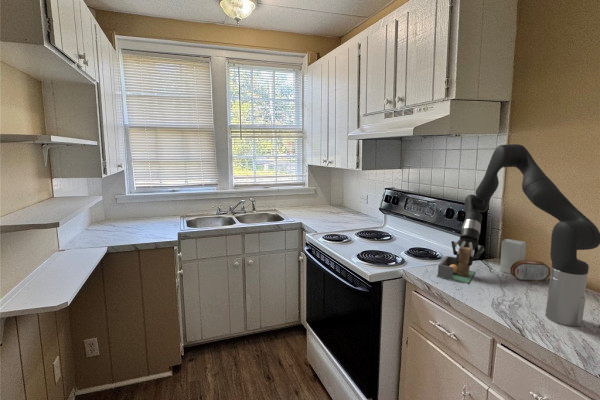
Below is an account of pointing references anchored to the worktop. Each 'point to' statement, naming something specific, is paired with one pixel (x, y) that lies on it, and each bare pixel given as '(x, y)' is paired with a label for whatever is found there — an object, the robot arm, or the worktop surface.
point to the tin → (530, 270)
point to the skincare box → (511, 253)
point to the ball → (454, 268)
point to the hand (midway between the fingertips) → (463, 264)
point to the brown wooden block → (464, 261)
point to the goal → (448, 273)
